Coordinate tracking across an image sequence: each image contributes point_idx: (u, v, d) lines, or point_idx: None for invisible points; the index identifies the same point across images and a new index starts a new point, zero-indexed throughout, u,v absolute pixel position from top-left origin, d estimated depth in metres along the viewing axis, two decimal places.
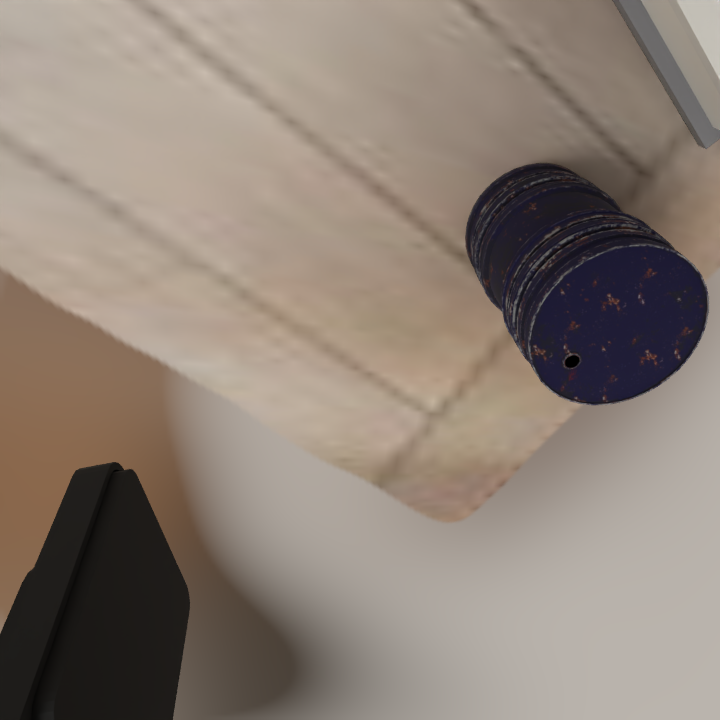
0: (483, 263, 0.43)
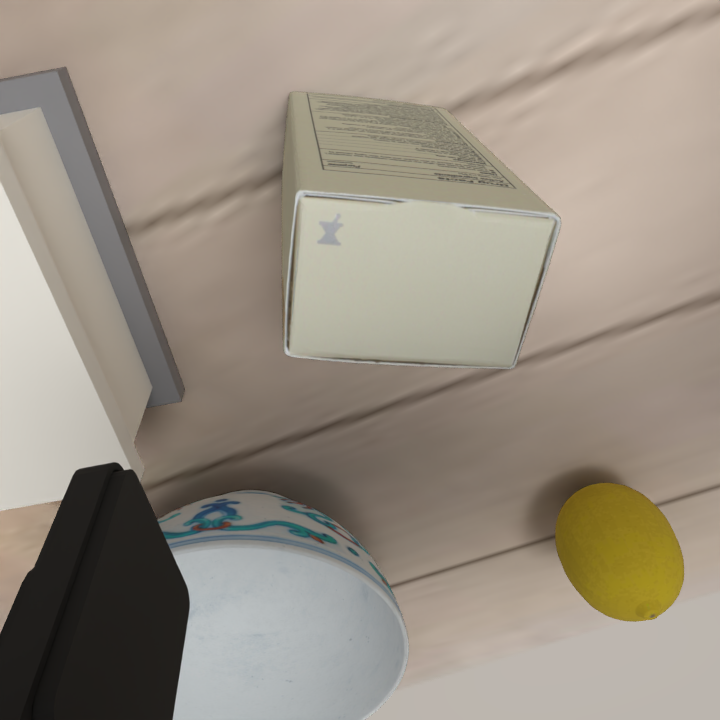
0: None
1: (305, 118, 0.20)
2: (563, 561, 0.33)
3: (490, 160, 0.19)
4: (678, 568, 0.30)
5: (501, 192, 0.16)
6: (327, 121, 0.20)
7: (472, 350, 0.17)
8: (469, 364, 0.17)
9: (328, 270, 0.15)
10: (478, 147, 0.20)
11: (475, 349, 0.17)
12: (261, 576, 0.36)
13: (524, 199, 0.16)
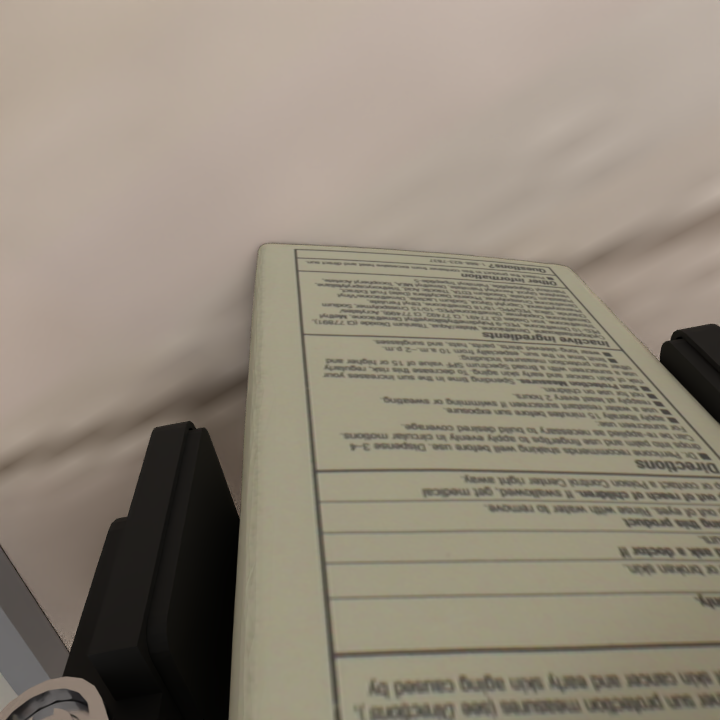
0: None
1: (289, 384, 0.08)
2: None
3: None
4: None
5: None
6: (346, 395, 0.08)
7: None
8: None
9: None
10: None
11: None
12: None
13: None
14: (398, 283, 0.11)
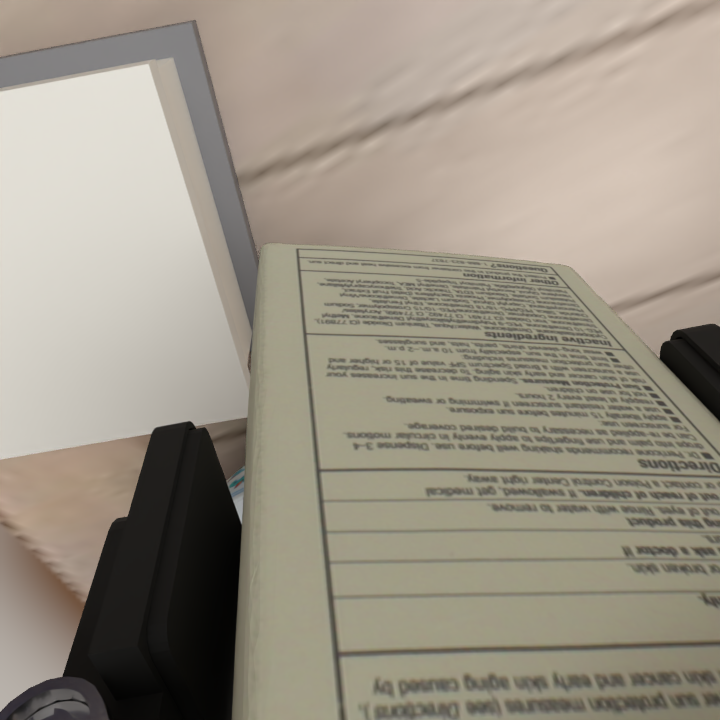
0: None
1: (292, 384, 0.08)
2: None
3: None
4: None
5: None
6: (348, 394, 0.08)
7: None
8: None
9: None
10: None
11: None
12: None
13: None
14: (400, 283, 0.11)
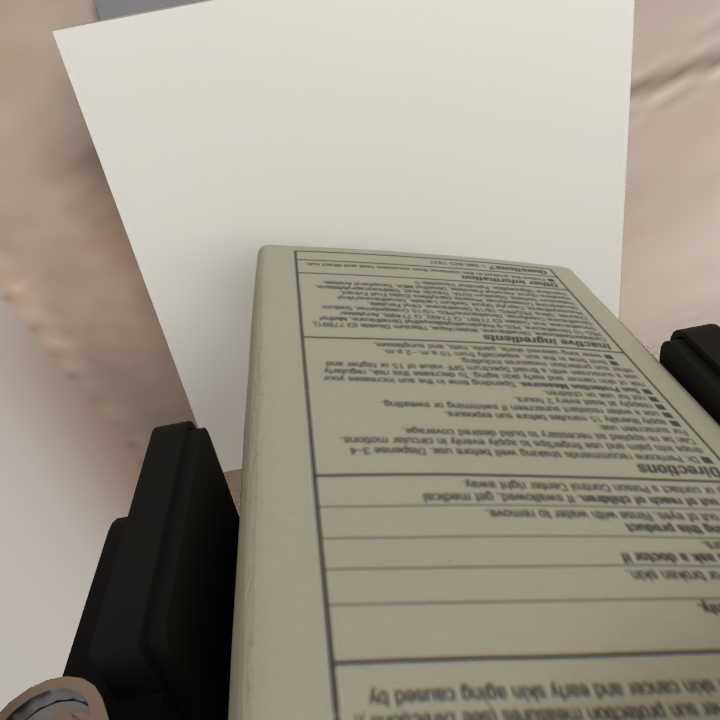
0: None
1: (289, 387, 0.08)
2: None
3: None
4: None
5: None
6: (346, 398, 0.08)
7: None
8: None
9: None
10: None
11: None
12: None
13: None
14: (398, 285, 0.11)
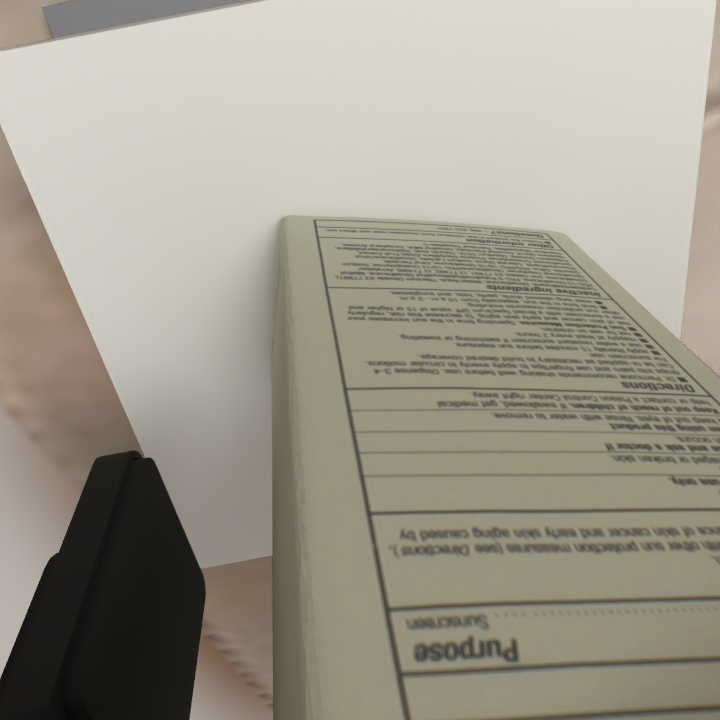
0: None
1: (318, 325, 0.09)
2: None
3: None
4: None
5: None
6: (368, 333, 0.09)
7: None
8: None
9: None
10: (719, 394, 0.09)
11: None
12: None
13: None
14: (409, 246, 0.12)
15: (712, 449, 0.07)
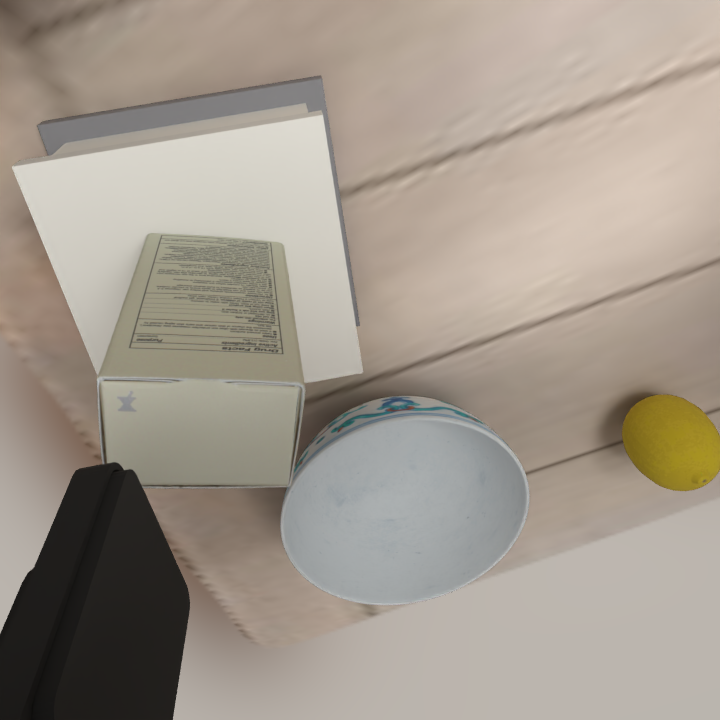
0: None
1: (144, 275, 0.25)
2: (632, 450, 0.44)
3: (281, 317, 0.24)
4: None
5: (266, 361, 0.21)
6: (161, 277, 0.25)
7: (254, 476, 0.22)
8: (255, 485, 0.22)
9: (130, 428, 0.20)
10: (280, 299, 0.25)
11: (256, 475, 0.22)
12: (394, 473, 0.46)
13: (282, 367, 0.21)
14: (198, 247, 0.28)
15: (258, 311, 0.24)
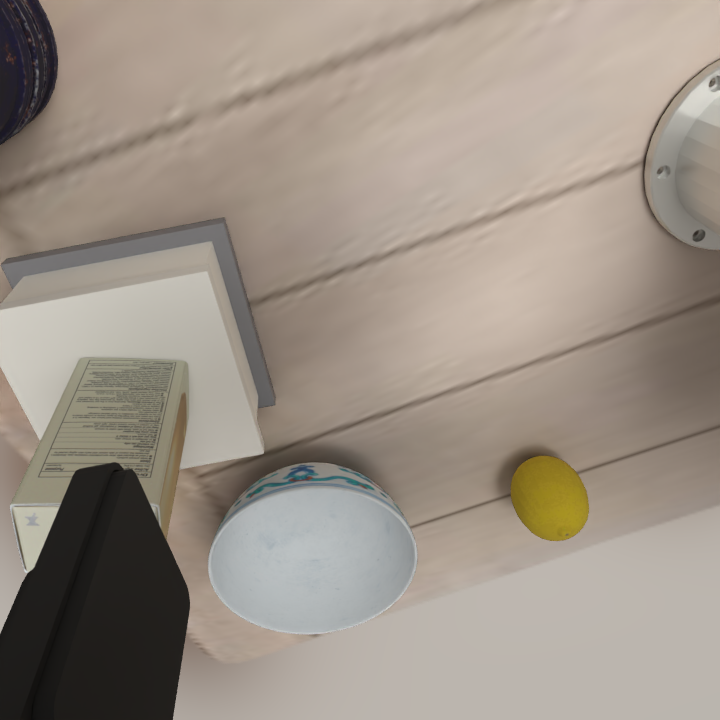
0: None
1: (65, 404, 0.34)
2: (514, 505, 0.51)
3: (160, 441, 0.32)
4: (583, 506, 0.49)
5: None
6: (78, 406, 0.34)
7: None
8: None
9: (36, 535, 0.29)
10: (165, 423, 0.34)
11: None
12: (317, 520, 0.54)
13: (146, 490, 0.29)
14: (115, 372, 0.37)
15: (144, 436, 0.32)
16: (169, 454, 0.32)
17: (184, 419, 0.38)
